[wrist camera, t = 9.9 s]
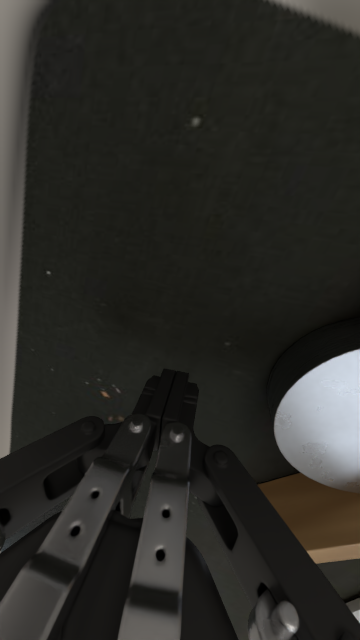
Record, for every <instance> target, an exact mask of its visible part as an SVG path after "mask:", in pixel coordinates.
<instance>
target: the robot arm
mask: <svg viewBox="0 0 360 640" xmlns="http://www.w3.org/2000/svg"><path fill="white" fill-rule="evenodd" d="M188 378H189V373H185V372H180V371H177V372H176V371H174V370H169V369H164V370H163V372H162V375H161V377H159V376H152V377H151V378H150V379H149V380H148V381H147V383H146V385H145V387H144V389H143V391H142V394H141V396H140V398H139V400H138V402H137V404H136V407H135V409H134V411H133V413H132V415H130V416H128V417H127V418H125V420H124V421H123V422H121V423H117V424H105V425H104V422H103V420H102V419H100V418H99V417H95V416H89V417H85V418H83V419H80V420H78V421H76V422H74V423H72V424H70V425H68V426H66V427H64V428H62V429H60V430H58V431H56V432H54V433H52V434H50V435H48V436H46V437H44V438H42V439H40V440H37V441H35V442H33V443H31V444H29V445H27V446H25V447H23V448H21V449H19V450H17V451H15V452H13V453H11V454H9V455H7V456H5V457H3V458H1V459H0V551H1V549H2V547H3V545H4V542H5V540H6V539H7V538H9V537H10V536H12V535H13V534H15V533H16V532H18V531H19V530H21V529H22V528H24V527H25V526H27V525H28V524H30V523H31V522H33V521H34V520H36V519H37V518H39V517H40V516H42V515H43V514H45V513H46V512H48V511H49V510H51V509H52V508H54V507H55V506H57V505H58V504H60V503H61V502H63V501H64V500H66V499H67V498H69V497H70V496H71V498H70V500H69V501H68V503H67V504H66V506H65V508H64V509H63V511H61V512H59V513H57V514H55V515H53V516H52V517H50V518H49V519H47V520H46V521H44V522H43V523H42V524H40V525H39V526H38V527H36V528H35V529H33V530H32V531H31V532H29V533H28V534H27V535H25V536H24V537H22V538H21V539H20V540H18V541H17V542H15V543H14V544H13V545H11V546H10V547H9V548H7V549H6V550H4V551H3V552H2V553H0V640H238V638H237V635H236V633H235V630H234V628H233V626H232V623H231V621H230V619H229V616H228V614H227V611H226V609H225V607H224V604H223V602H222V600H221V597H220V595H219V592H218V590H217V588H216V585H215V583H214V580H213V578H212V576H211V573H210V571H209V569H208V566H207V564H206V562H205V560H204V558H203V556H202V555H201V553H200V552H199V550H198V549H197V547H196V546H195V545H194V544H193V543H192V542H191V541H190V540H189V539H188V538H187V537H186V530H187V515H188V500H189V492H190V493H192V494H193V495H195V496H196V497H197V500H198V503H199V505H200V507H201V509H202V511H203V513H204V514H205V516H206V518H207V520H208V522H209V524H210V526H211V528H212V530H213V532H214V534H215V536H216V538H217V540H218V542H219V544H220V546H221V547H222V549H223V551H224V553H225V555H226V557H227V559H228V561H229V563H230V565H231V567H232V569H233V571H234V573H235V575H236V577H237V579H238V580H239V582H240V584H241V586H242V588H243V590H244V592H245V594H246V596H247V598H248V600H249V602H250V604H251V606H252V608H253V609H252V611H251V612H250V615H249V620H248V635H249V640H360V623H359V621H358V620H357V619H356V617H355V616H354V615H353V613H352V612H351V611H350V609H349V608H348V606H347V605H346V604H345V602H344V601H343V600H342V598H341V597H340V596H339V594H338V593H337V592H336V590H335V589H334V588H333V586H332V585H331V584H330V582H329V581H328V580H327V578H326V577H325V576H324V574H323V573H322V571H321V570H320V569H319V567H318V566H317V565H316V563H315V562H314V561H313V559H312V558H311V557H310V555H309V554H308V553H307V551H306V550H305V549H304V547H303V546H302V545H301V543H300V542H299V540H298V539H297V538H296V536H295V535H294V534H293V532H292V531H291V530H290V528H289V527H288V526H287V524H286V523H285V522H284V520H283V519H282V518H281V516H280V515H279V514H278V512H277V511H276V510H275V508H274V507H273V505H272V504H271V503H270V501H269V500H268V499H267V497H266V496H265V495H264V493H263V492H262V491H261V489H260V488H259V487H258V485H257V484H256V483H255V481H254V480H253V479H252V477H251V476H250V475H249V473H248V472H247V470H246V469H245V468H244V466H243V465H242V464H241V462H240V461H239V460H238V458H237V457H236V456H235V454H234V453H233V452H232V451H231V450H230V449H229V448H227V447H225V446H223V445H213V446H211V447H209V446H207V445H205V444H203V443H202V442H200V441H199V440H198V439H197V437H196V436H195V434H194V431H193V425H194V419H195V412H196V406H197V400H198V393H199V390H198V387H197V384H195V383H190V382H188ZM158 449H159V450H158ZM153 450H155V451H158V455H157V460H156V465H155V470H154V473H153V475H152V479H151V484H150V489H149V493H148V498H147V503H146V508H145V513H144V518H138V519H130V517H131V512H132V508H133V505H134V502H135V499H136V497H137V494H138V492H139V489H140V487H141V484H142V481H143V479H144V476H145V474H146V471H147V469H148V466H149V461H150V458H151V455H152V452H153Z"/></svg>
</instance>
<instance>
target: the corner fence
mask: <svg viewBox="0 0 360 640" xmlns="http://www.w3.org/2000/svg"><path fill="white" fill-rule="evenodd" d="M258 487H259V488H260V489H261V491H262V492H263V493H264V495H265V496H266V497H267V499H268V500H269V501H270V503H271V504H272V505H273V507H274V508H275V510H276V511H277V512H278V514H279V515H280V516H281V518H282V519H283V520H284V522H285V523H286V524H287V526H288V527H289V528H290V530H291V531H292V532H293V534H294V535H295V536H296V538H297V539H298V540H299V542H300V543H301V545H302V546H303V547H304V549H305V550H306V551H307V553H308V554H309V555H310V557H311V558H312V559H313V561H314V562H315V563H324V562H332V561H340V560H349V559H357V558H360V493H353V492H348V491H343V490H339V489H336V488H332V487H329V486H326V485H324V484H321V483H318V482H316V481H314V480H312V479H310V478H308V477H307V476H305V475H304V474H302V473H297V474H294V475H290V476H286V477H283V478H279V479H276V480H272V481H269V482H265V483H261V484H258Z"/></svg>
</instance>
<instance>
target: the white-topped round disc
mask: <svg viewBox="0 0 360 640" xmlns="http://www.w3.org/2000/svg"><path fill="white" fill-rule="evenodd" d="M267 401H268V406H269V411H270V416H271V421H272V426H273V431H274V435H275V439H276V443H277V445H278V447H279V449H280V451H281V453H282V454H283V456H284V457H285V458H286V460H287V461H288V462H289V463H290V464H291V465H292V466H293V467H294V468H296V469H297V470H298V471H299V472H301V473H302V474H304V475H305V476H307V477H308V478H310V479H312V480H314V481H316V482H318V483H321V484H324V485H326V486H329V487H332V488H336V489H339V490H343V491H348V492H353V493H360V318H353V319H349V320H344V321H339V322H336V323H333V324H330V325H327V326H324V327H322V328H320V329H317V330H315V331H313V332H311V333H310V334H308V335H306V336H304V337H303V338H301V339H300V340H299V341H297V342H296V343H294V344H293V345H292V346H291V347H290V348H289V349H288V350H287V351H286V352H285V353H284V354H283V355H282V356H281V357H280V359H279V360H278V361H277V363H276V365H275V366H274V368H273V370H272V372H271V374H270V377H269V381H268V385H267Z"/></svg>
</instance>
